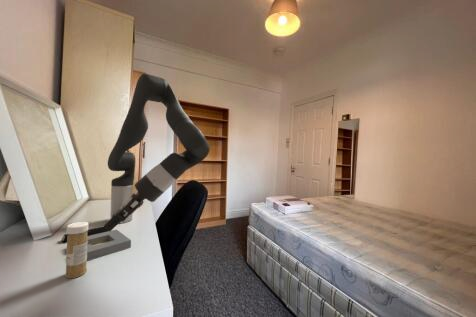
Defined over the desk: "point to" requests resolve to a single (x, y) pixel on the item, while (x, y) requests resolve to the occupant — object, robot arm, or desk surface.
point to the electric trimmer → (88, 233)
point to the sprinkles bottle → (76, 249)
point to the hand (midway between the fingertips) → (110, 223)
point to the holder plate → (106, 243)
